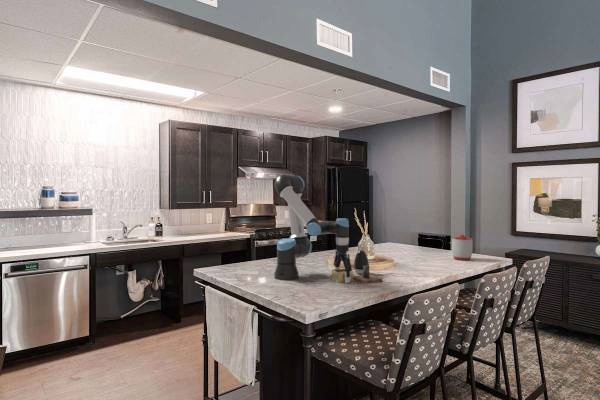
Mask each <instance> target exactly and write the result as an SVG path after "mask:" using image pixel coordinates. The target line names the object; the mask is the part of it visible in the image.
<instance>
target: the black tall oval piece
mask: <svg viewBox="0 0 600 400" xmlns="http://www.w3.org/2000/svg"><path fill="white" fill-rule="evenodd" d="M367 255H368V254H367V253H366V251H364V250H363V249H361V250H358V251H357V253H356V254H355V257H354V261H353V267H352V268H353V270H354V271H353V272H355V274H358V275H363V266H364V265H367V266H369V267H370V263H369V258H368V256H367Z"/></svg>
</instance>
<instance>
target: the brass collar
mask: <svg viewBox="0 0 600 400" xmlns="http://www.w3.org/2000/svg"><path fill="white" fill-rule="evenodd" d="M353 276H354V271H353V270H352V271H350V283H352V282H354V280H353ZM331 280H333V282H336V283H338V284H339V283H343V284H344V283H345V267H344V268H340V269H335V268H334V269H333V268H332V269H331Z"/></svg>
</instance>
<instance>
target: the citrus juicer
mask: <svg viewBox="0 0 600 400" xmlns="http://www.w3.org/2000/svg"><path fill="white" fill-rule="evenodd" d="M449 244H451V252H452V257H453V259H454V260H458V261H470V260H471V258H472V255H473V246H474V244H473V238H472V237H468V236H467V237H466V236H465V235H464V234H460V235H459V236H455V237H454V238H453V237H451V241H450V242H449Z"/></svg>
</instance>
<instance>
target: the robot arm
mask: <svg viewBox="0 0 600 400" xmlns="http://www.w3.org/2000/svg"><path fill="white" fill-rule="evenodd" d="M273 186H274V189H275V191H276V193H277V195H278V196H279V197H280V198H283V199H284V200H285V201H286V203H287V205H288V207H287V209H288V215H289V224H290V225H289V226H290V234H291V235H290V236H289V238H282V239H279V240H278V241H277V244H276V267H275V270H274V274H273V276H274V278H275V279H277V280H281V281H282V280H283V281H287V280H296V279H298V278H299V276H300V275H299V270H298V267H297V259H298V258H300V259H301V258H304V257H307V256H308V255H310V254H311V252H312V249H313V245H312V242H311V241H310V239H309V238H308V235H310V236H319V235H320V236H321V235H327V234H328V235H329V234H334V235H335V255H334V261H333V266H334V267H335V268H334V269H341V262H342V263H343V266H344V268H345V282H344V284H347V283H351V282H350V271H353V269H352V268H353V267H352V263H351V258H350V254H349V253H347V252H348V251H349V250H350V249H349V247H350V246H349V244H350V243H349V242H350V238H349V231H350V230H349V228H350V224H349V223H350V222H349V218H346V217H345V218H343V217H342V218H338V217H337V218H336V220H335V221H332V220H320V221H319V220H318V219H317V217H315V214H313V213H312V211H311V210H310V209H309V208H308V207H307V205H306V204H305V203H304V202H303V201H302V199H301V198H302V195H303V191H304V189H305V181H304V179H303V178H302V177H301V176H300V175H297V174H286V173H285V174H280V175H278V176H277V177H276V178H275V179H274V185H273ZM304 225H305V227H306V232H307V233H308V234H306V233H305V227H304Z"/></svg>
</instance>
